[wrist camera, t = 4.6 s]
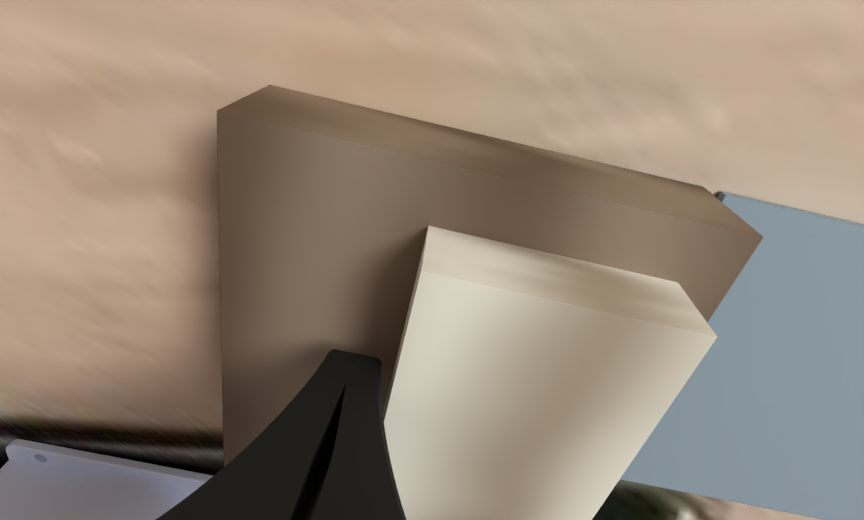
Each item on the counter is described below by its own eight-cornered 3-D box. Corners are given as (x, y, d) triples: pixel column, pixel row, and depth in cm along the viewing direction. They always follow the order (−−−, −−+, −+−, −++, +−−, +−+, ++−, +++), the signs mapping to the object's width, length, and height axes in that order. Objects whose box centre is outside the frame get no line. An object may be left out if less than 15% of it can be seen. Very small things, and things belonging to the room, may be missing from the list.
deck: (258, 400, 18) (224, 469, 16) (269, 85, 12) (216, 110, 10) (554, 459, 19) (568, 534, 16) (703, 187, 13) (763, 237, 10)
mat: (566, 462, 19) (567, 468, 19) (721, 190, 13) (726, 195, 13) (886, 525, 20) (891, 533, 19) (1174, 297, 14) (1187, 303, 13)
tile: (369, 468, 15) (357, 530, 13) (428, 225, 11) (421, 270, 9) (547, 503, 15) (557, 568, 14) (677, 282, 11) (717, 336, 9)
